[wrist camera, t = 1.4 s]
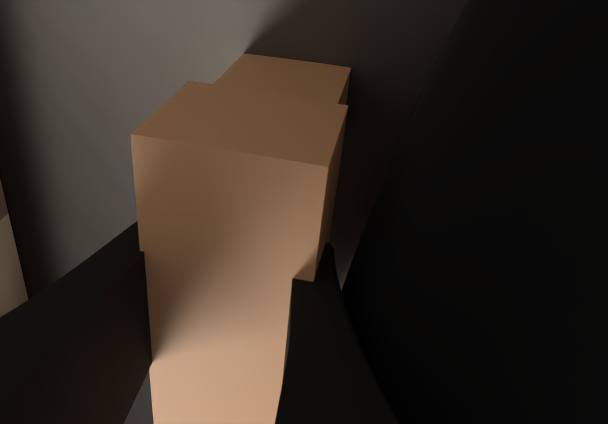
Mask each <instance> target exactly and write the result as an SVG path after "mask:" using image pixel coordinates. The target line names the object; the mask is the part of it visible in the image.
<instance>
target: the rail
mask: <svg viewBox="0 0 608 424" xmlns="http://www.w3.org/2000/svg"><path fill="white" fill-rule="evenodd" d="M27 300H28V296H27V292H26V287H25V283H24V279H23V274H22V270H21V266H20V261H19V257H18V253H17V249H16V244H15V240H14V236H13V231H12V227H11V223H10V218H9V214H8V210H7V205H6V201H5V197H4V193H3V188H2V184H1V180H0V317H1V316H3V315H5V314H6V313H8V312H10V311H11V310H13V309H15V308H16V307H18V306H19V305H21V304H22V303H24V302H25V301H27Z"/></svg>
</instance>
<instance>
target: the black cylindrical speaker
mask: <svg viewBox="0 0 608 424" xmlns="http://www.w3.org/2000/svg"><path fill="white" fill-rule="evenodd" d="M341 292H342V296H343V299H344V302H345V305H346V308H347V311H348V314H349V317H350V320H351V323H352V326H353V329H354V331H355V334H356V336H357V339H358V341H359V344H360V346H361V349H362V351H363V353H364V356H365V358H366V360H367V363H368V365H369V367H370V369H371V371H372V373H373V376H374V378H375V380H376V382H377V384H378V386H379V388H380V390H381V392H382V393H383V395H384V397H385V399H386V401H387V403H388V405H389V407H390V408H391V410H392V412H393V414H394V416H395V417H396V419H397V421H398V423H399V424H608V0H468V2H467V4H466V5H465V7H464V9H463V11H462V13H461V15H460V17H459V19H458V21H457V23H456V25H455V26H454V28H453V30H452V32H451V34H450V36H449V38H448V40H447V42H446V44H445V46H444V48H443V50H442V52H441V55H440V57H439V59H438V61H437V63H436V65H435V67H434V69H433V71H432V73H431V75H430V77H429V79H428V82H427V84H426V86H425V88H424V90H423V92H422V94H421V96H420V99H419V101H418V103H417V105H416V107H415V110H414V112H413V114H412V116H411V118H410V121H409V123H408V125H407V127H406V130H405V132H404V134H403V136H402V139H401V141H400V143H399V146H398V148H397V151H396V153H395V155H394V158H393V160H392V162H391V165H390V167H389V169H388V172H387V174H386V177H385V179H384V181H383V184H382V186H381V189H380V191H379V193H378V196H377V198H376V201H375V203H374V206H373V208H372V211H371V213H370V216H369V218H368V221H367V223H366V226H365V228H364V231H363V233H362V236H361V239H360V241H359V244H358V246H357V249H356V252H355V254H354V257H353V260H352V262H351V265H350V268H349V271H348V273H347V276H346V279H345V282H344V285H343V288H342V290H341Z"/></svg>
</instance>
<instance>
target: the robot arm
mask: <svg viewBox="0 0 608 424" xmlns="http://www.w3.org/2000/svg"><path fill="white" fill-rule="evenodd" d="M151 364H152V349H151V336H150V322H149V309H148V295H147V282H146V268H145V255H144V251H140V246H139V233H138V221H137V222H135V223H134V224H133V225H131V226H130V227H129V228H127V229H126V230H125V231H123V232H122V233H121V234H119V235H118V236H117V237H115V238H114V239H113V240H111V241H110V242H109V243H108V244H106V245H105V246H104V247H102V248H101V249H100V250H98V251H97V252H96V253H94V254H93V255H92V256H90V257H89V258H88V259H86V260H85V261H84V262H82V263H81V264H79V265H78V266H77V267H75V268H74V269H73V270H71V271H70V272H68V273H67V274H66V275H64V276H63V277H62V278H60V279H59V280H57V281H56V282H54V283H53V284H51V285H50V286H48V287H47V288H45V289H44V290H42V291H41V292H39V293H38V294H36V295H35V296H33V297H31V298H30V299H28V300H27V301H25V302H24V303H22V304H21V305H19V306H18V307H16V308H15V309H13V310H11V311H10V312H8V313H6V314H5V315H3V316H1V317H0V424H124V422H125V419H126V417H127V415H128V413H129V411H130V409H131V407H132V405H133V403H134V400H135V398H136V396H137V394H138V392H139V390H140V388H141V386H142V384H143V381H144V379H145V377H146V375H147V373H148V371H149V369H150V367H151ZM275 424H399V423H398V421H397V419H396V417H395V416H394V414H393V412H392V410H391V408H390V407H389V405H388V403H387V401H386V399H385V397H384V395H383V393H382V392H381V390H380V388H379V386H378V384H377V382H376V380H375V378H374V376H373V373H372V371H371V369H370V367H369V365H368V363H367V360H366V358H365V356H364V353H363V351H362V349H361V346H360V344H359V341H358V339H357V336H356V334H355V331H354V329H353V326H352V323H351V320H350V317H349V314H348V311H347V308H346V305H345V302H344V299H343V296H342V292H341V288H340V284H339V280H338V276H337V271H336V266H335V259H334V248H333V247H332V246H331V245H330V243H326V244H325V247H324V250H323V253H322V256H321V259H320V262H319V265H318V269H317V272H316V275H315V279H314V282H311V281H306V280H300V279H295V278H292V287H291V297H290V307H289V318H288V328H287V339H286V349H285V359H284V370H283V380H282V388H281V393H280V399H279V404H278V409H277V414H276V419H275Z"/></svg>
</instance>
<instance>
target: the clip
mask: <svg viewBox="0 0 608 424" xmlns="http://www.w3.org/2000/svg"><path fill="white" fill-rule="evenodd" d="M350 72H351V68H350V67H344V66H337V65H330V64H323V63H316V62H308V61H300V60H293V59H285V58H277V57H269V56H261V55H253V54H245V53H244V54H243V55H242V56H241V57H240V58H239V59H238V60H237V61H236V62H235V63H234V64H233V65H232V66H231V67H230V68H229V69H228V70H227V71H226V72H225V73H224V74H223V75H222V76H221V77H220V78H219V79H218V80H217V81H216V82H215V83H214V84H207V83H201V82H194V81H189V82H188V83H186V84H185V85H184V86H183V87H182V88H181V89H180V90H179V91H178V92H176V93H175V94H174V95H173V96H172V97H171V98H170V99H169V100H168V101H166V102H165V103H164V104H163V105H162V106H161V107H160V108H159V109H158V110H156V111H155V112H154V113H153V114H152V115H151V116H150V117H149V118H148V119H147V120H145V121H144V122H143V123H142V124H141V125H140V126H139V127H138V128H137V129H135V130H134V131H133V132H132V133H131V146H132V158H133V171H134V183H135V196H136V208H137V221H138V233H139V246H140V251H144V255H145V268H146V282H147V295H148V309H149V322H150V336H151V349H152V364H151V367H150V369H149V370H150V382H151V395H152V407H153V420H154V424H275V419H276V414H277V409H278V404H279V399H280V393H281V388H282V380H283V370H284V359H285V349H286V339H287V328H288V318H289V307H290V297H291V287H292V278H295V279H300V280H306V281H311V282H314V279H315V275H316V272H317V269H318V265H319V262H320V259H321V256H322V253H323V250H324V247H325V244H326V243H329V239H330V231H331V224H332V217H333V210H334V203H335V196H336V189H337V182H338V175H339V168H340V161H341V154H342V147H343V140H344V133H345V125H346V118H347V111H348V105H346V101H347V93H348V86H349V79H350Z"/></svg>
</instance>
